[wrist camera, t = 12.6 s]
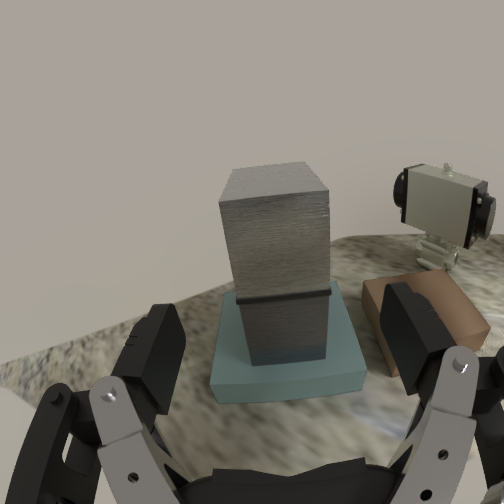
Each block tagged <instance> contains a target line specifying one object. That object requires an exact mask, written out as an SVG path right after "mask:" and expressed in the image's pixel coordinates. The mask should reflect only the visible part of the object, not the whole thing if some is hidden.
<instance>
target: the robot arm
mask: <svg viewBox="0 0 504 504" xmlns="http://www.w3.org/2000/svg"><path fill="white" fill-rule="evenodd" d="M380 327H381V330H382V333H383V335H384V337H385V340H386V342H387V344H388V347H389V349H390V351H391V354H392V356H393V359H394V361H395V364H396V366H397V369H398V371H399V374H400V376H401V379H402V382H403V384H404V387H405V390H406V392H407V395H408V396H409V395H413V394H416V393H418V394H419V397H420V399H419V401H418V403H417V406H416V409H415V411H414V414H413V416H412V419H411V421H410V424H409V426H408V429H407V431H406V433H405V435H404V438H403V440H402V442H401V444H400V446H399V448H398V449H397V451H396V452H395V454H394V455H393V457H392V459H391V460H390V462H389V464H388V466H387V467H384V466H379V465H372V464H366V462H365V457H363V458H358V459H353V460H348V461H343V462H337V463H331V464H327V465H324V466H321V467H319V468H316V469H313V470H310V471H307V472H304V473H301V474H298V475H294V476H289V477H287V476H280V475H274V474H268V473H263V472H258V471H253V470H234V469H213V474H212V476H208V477H204V478H200V479H197V480H195V481H192V479H191V478H190V476H189V475H188V474H187V472H186V471H185V470H184V469H183V468H182V466H181V465H180V464H179V463H178V461H177V460H176V458H175V456H174V455H173V453H172V451H171V450H170V448H169V446H168V444H167V443H166V441H165V439H164V437H163V435H162V434H161V432H160V430H159V428H158V426H157V424H156V423H155V418H156V415H157V414H160V415H168V411H169V407H170V403H171V399H172V395H173V391H174V387H175V383H176V380H177V376H178V372H179V368H180V365H181V361H182V357H183V354H184V350H185V346H186V337H185V332H184V330H183V327H182V324H181V322H180V319H179V316H178V314H177V311H176V308H175V306H174V305H173V304H172V303H170V304H154V305H153V306H152V307H151V310H150V311H149V313H148V316H147V317H143V318H142V319H141V320H140V321H138V322H137V323H136V324H135V325H134V327H133V329H132V331H131V333H130V335H129V338H128V339H127V341H126V343H125V346H124V347H123V350H122V352H121V354H120V356H119V358H118V360H117V362H116V365H115V367H114V369H113V371H112V373H111V375H110V376H107V377H104V378H101V379H99V380H98V381H97V382H96V383H95V384H94V385H93V386H92V388H91V390H87V391H80V392H72V390H71V389H70V388H69V387H68V386H67V385H66V384H63V383H57V384H54V385H52V386H51V387H49V388H48V389H47V390H46V392H45V393H44V395H43V397H42V399H41V401H40V404H39V406H38V408H37V410H36V413H35V415H34V418H33V420H32V422H31V425H30V427H29V429H28V432H27V435H26V437H25V440H24V443H23V445H22V448H21V451H20V453H19V456H18V459H17V462H16V465H15V469H14V472H13V475H12V478H11V482H10V486H9V489H8V493H7V497H6V502H5V504H94V499H95V494H96V490H97V485H98V480H99V476H100V471H101V467H102V468H103V470H104V473H105V476H106V478H107V481H108V483H109V486H110V488H111V491H112V493H113V495H114V498H115V500H116V502H117V504H450V503H451V501H452V499H453V497H454V494H455V492H456V489H457V487H458V484H459V482H460V479H461V476H462V473H463V470H464V468H465V464H466V461H467V458H468V455H469V452H470V448H471V445H472V441H473V437H474V436H475V440H476V443H477V446H478V450H479V454H480V458H481V461H482V465H483V469H484V474H485V479H486V484H487V488H488V491H487V493H486V494H485V497H484V500H483V501H482V502H481V503H480V504H504V410H503V408H502V406H501V403H500V402H501V401H502V400H503V399H504V346H503V347H501V348H500V349H499V351H498V353H497V354H496V356H495V357H477V356H476V354H475V353H474V352H473V351H472V350H471V349H469V348H467V347H464V346H458V345H457V344H456V342H455V340H454V339H453V337H452V336H451V334H450V332H449V331H448V329H447V328H446V326H445V324H444V323H443V321H442V320H441V318H439V315H438V314H437V312H436V311H434V308H433V306H432V305H431V303H430V302H429V300H428V299H427V298H425V297H424V296H423V295H421V294H420V293H418V292H416V293H414V292H413V291H412V289H411V288H410V286H409V285H408V283H407V282H406V281H401V282H395V283H388V284H386V286H385V289H384V295H383V301H382V306H381V311H380ZM69 433H71V434H72V435H73V438H72V441H71V444H70V447H69V450H68V454H67V457H66V461H65V463H64V462H63V459H62V452H63V449H64V446H65V443H66V440H67V437H68V434H69Z"/></svg>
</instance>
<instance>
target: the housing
mask: <svg viewBox="0 0 504 504" xmlns="http://www.w3.org/2000/svg"><path fill="white" fill-rule="evenodd" d="M219 207H220V213H221V218H222V223H223V228H224V234H225V239H226V244H227V249H228V254H229V259H230V264H231V269H232V274H233V279H234V284H235V289H236V305H239V308H240V313H241V318H242V323H243V327H244V332H245V337H246V341H247V346H248V350H249V355H250V359H251V364H252V366H264V365H277V364H288V363H298V362H306V361H315V360H322V359H326V346H327V332H328V314H329V296H330V295H332V290H331V287H330V209H329V190H328V188H327V187H326V186H325V185H324V184H323V182H322V181H321V180H320V179H319V178H318V177H317V175H316V174H315V173H314V172H313V171H312V170H311V168H310V167H309V166H308V165H307V164H306V163H305V162H295V163H284V164H274V165H265V166H257V167H249V168H240V169H233V171H232V173H231V175H230V177H229V179H228V182H227V184H226V186H225V188H224V191H223V193H222V195H221V197H220V199H219Z"/></svg>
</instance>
